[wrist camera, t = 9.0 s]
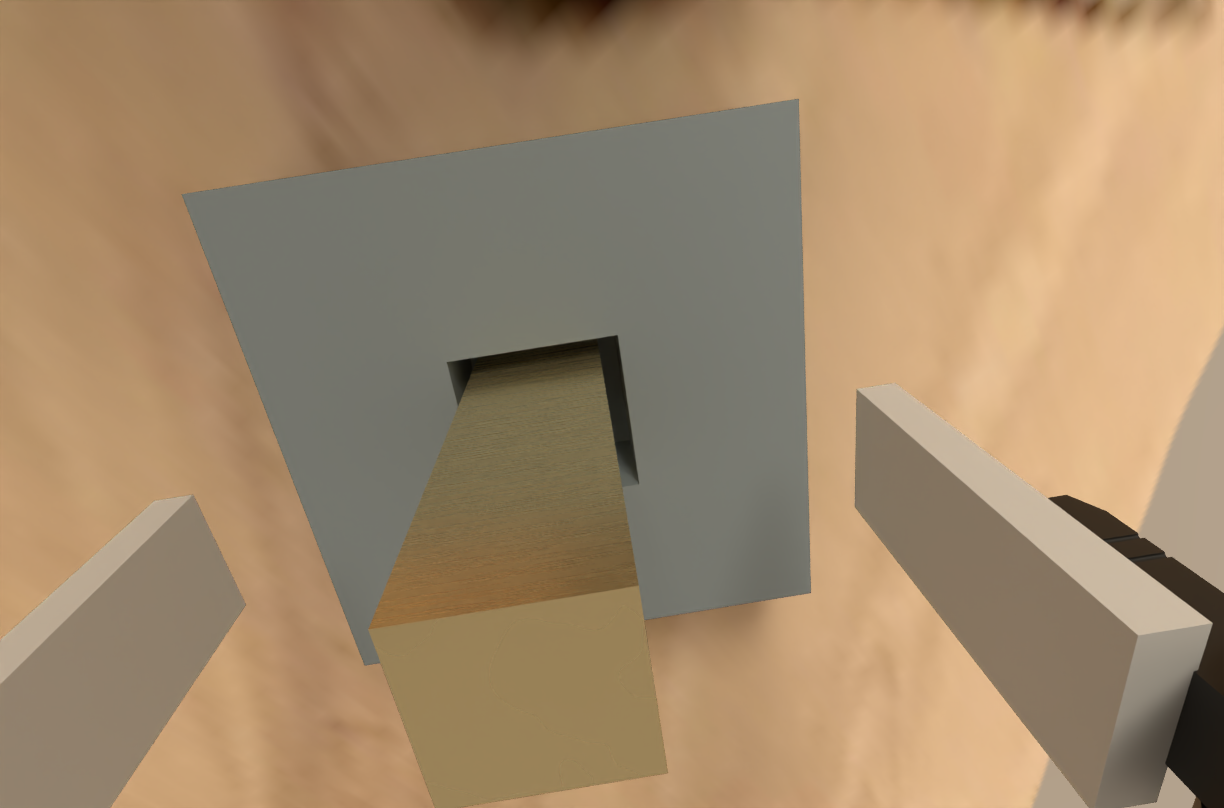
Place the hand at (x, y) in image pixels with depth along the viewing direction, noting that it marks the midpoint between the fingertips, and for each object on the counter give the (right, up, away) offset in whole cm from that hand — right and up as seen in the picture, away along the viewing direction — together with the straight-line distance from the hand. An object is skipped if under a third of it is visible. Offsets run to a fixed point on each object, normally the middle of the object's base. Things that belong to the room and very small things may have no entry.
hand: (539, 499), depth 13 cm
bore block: (0, +3, +7) cm, 8 cm away
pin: (0, +2, +7) cm, 7 cm away
